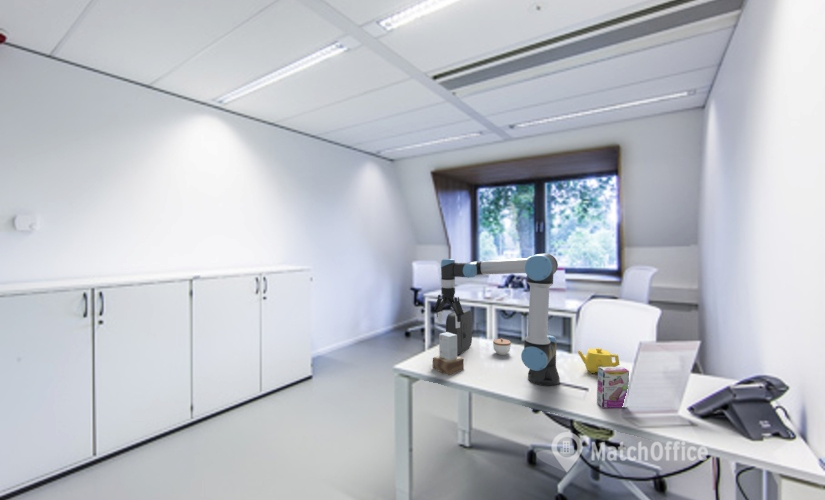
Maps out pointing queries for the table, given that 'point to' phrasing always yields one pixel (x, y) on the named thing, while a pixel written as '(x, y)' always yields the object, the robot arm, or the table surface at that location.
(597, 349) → the teapot
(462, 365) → the brown square box
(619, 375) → the candy bar box
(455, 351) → the small box
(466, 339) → the speaker
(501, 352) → the lidded jar
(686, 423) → the table surface
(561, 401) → the table surface
